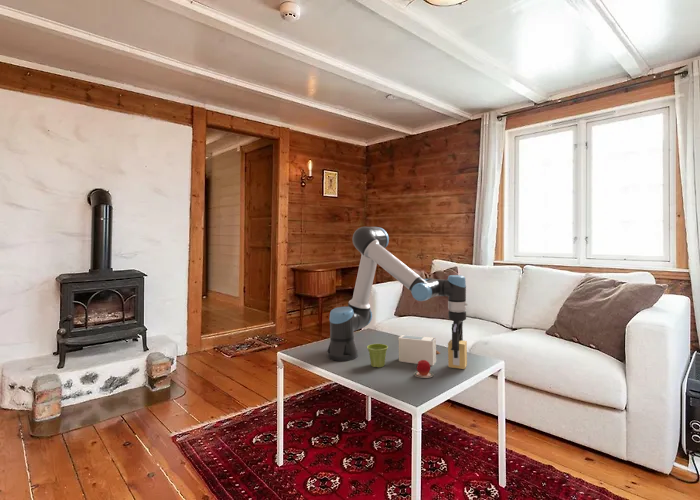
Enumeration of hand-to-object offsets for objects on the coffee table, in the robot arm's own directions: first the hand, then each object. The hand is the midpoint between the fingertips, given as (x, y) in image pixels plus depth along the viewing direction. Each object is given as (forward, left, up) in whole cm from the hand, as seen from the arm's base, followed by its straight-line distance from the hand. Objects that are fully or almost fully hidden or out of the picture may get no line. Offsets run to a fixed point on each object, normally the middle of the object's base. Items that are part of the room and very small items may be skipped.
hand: (457, 362), depth 166 cm
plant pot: (-33, -12, -2) cm, 35 cm away
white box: (-18, 0, -2) cm, 18 cm away
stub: (0, 0, -2) cm, 2 cm away
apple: (-11, -16, -2) cm, 19 cm away
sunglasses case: (-20, +18, -3) cm, 27 cm away
